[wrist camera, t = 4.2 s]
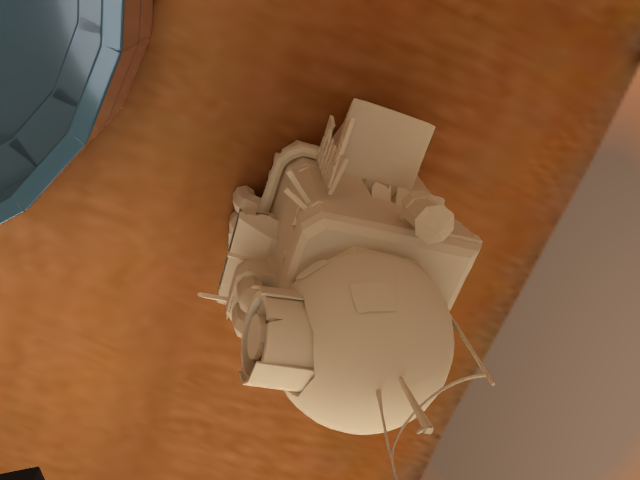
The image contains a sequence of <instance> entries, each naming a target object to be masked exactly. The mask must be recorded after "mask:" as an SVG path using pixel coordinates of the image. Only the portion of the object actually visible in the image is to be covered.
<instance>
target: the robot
mask: <svg viewBox="0 0 640 480" xmlns="http://www.w3.org/2000/svg"><path fill="white" fill-rule="evenodd" d="M334 127H335V121H334V116H333V115H330V117H329V120H328V123H327V127H326V130H325V134H324V136H323V138H322V141H321V144H320V146H317V145H313V144H310V143H306V142H303V141H299V140H296V141H294V142H293V143H291V144H289V145H288V146H286V147H284V148H283V149H282V151H281V153H275V155H274V158H273V166H272V169H271V170H269V174H268V181H267V184H266V187H265V190H264V193H263V196H262V197H261V198H260V197H257V196H255V192H254V190H253V189H252V188H250V187H248V186H247V185H245V186H240V187H237V188H236V189H235V191H234V193H233V194H232V197H233V204H234V208H235V211H234V212H233V213H232V214H231V215H230V216H229V219H230V222H229V235H228V245H230V246H229V249H228V253H227V257H226V261H225V264H224V268H223V272H222V276H221V280H220V283H219V287H218V295H214V294H208V293H201V292H198V294H197V295H198V296H199V297H203V298H208V299H213V300H217V302H216V303H221V304H226V306H225V307H226V314H227V317H226V320H227V318H228V317H229V318H230V319H231V321H232V323H233V326H234V329H235V332H236V334H237V336H238V337H240V338H241V339H242V340H241V365H242V371H239V376H240V379H241V382H242V385H248V386H255V387H263V388H270V389H278V390H284V392H285V393H286V395H287V396H288V398H289V399H290V400H291V401H292V402H293V403H294V404H295V406H296V407H297V408H298V409H299V410H301V411H302V412H303V413H304V414H306V415H307V416H308V417H310V418H311V419H313V420H314V421H315V422H317V423H319V424H321V425H323V426H325V427H328V428H330V429H333V430H337V431H341V432H345V433H349V434H359V435H369V434H379V433H383V432H384V434H385V440H386V444H387V448H388V452H389V456H390V461H391V465H392V469H393V474H394V479H395V480H398V479H397V474H396V469H395V465H394V459H393V453H394V449H395V445H396V442H397V440H398V438H399V436H400V434H401V432H402V431H403V429H404V428H405V426H406V424H407V423H408V422H410V421H412V420H413V419H415V418H416V417H417V419H418V421H419V423H420V425H421V427H422V428H421V429H418V430H416V433H417V435H418V434H420V433H422V432H424V433H425V434H432V432H433V430H434V427H433V426H432V424H431V423H430V421H429V420H428V418H427V417H426V415H425V414H424V412H423V411H425V410H426V408H427V407H428V406H429V405H430V404H431V403H432V401H433V400H434V399H435V398H436V397H437V395H438V394H439V393H441V392H442V391H444V390H446V389H447V388H449V387H451V386H453V385H455V384H458V383H460V382H462V381H465V380H469V379H473V378H479V377H486V378H487V379H488V381H489V382H490V384H491V385H492V386H495V382H494V381H493V379H492V378H491V376H490V375H489V373H488V371H487V370H486V368H485V367H484V365H483V364H482V362H481V360H480V359H479V357H478V356H477V354H476V353H475V351H474V350H473V348H472V346H471V345H470V343H469V342H468V340H467V339H466V337H465V336H464V334H463V332H462V331H461V329H460V328H459V326H458V325H457V323H456V321H455V320H454V318H453V317H452V315H451V314H450V309H451V307H452V305H453V303H454V301H455V299H456V297H457V295H458V293H459V291H460V289H461V287H462V285H463V283H464V281H465V279H466V277H467V275H468V273H469V271H470V270H471V268H472V265H473V263H474V261H475V259H476V257H477V255H478V253H479V251H480V249H481V246H482V242H483V241H482V240H481V239H480V237H479V236H478V235H475V234H473V233H472V232H471V231H469V230H468V229H467V228H466V227H465V226H463V225H464V224H462V223H460V222H458V221H457V220H456V219H454V213H452V212H451V211H450V210H449V209H447V208H446V207H445V206H444V202H445V198H444V199H443V198H442V197H438V196H434V195H432V194H431V193H430V191H429V190H428V189H427V187H426V186H425V185H424V183H423V182H422V181H421V179H420V178H419V177H418V175H417V174H418V171H419V169H420V166H421V163H422V160H423V158H424V155H425V153H426V150H427V148H428V145H429V143H430V140H431V137H432V135H433V132H434V130H435V126H434V125H432V124H430V123H427V122H425V121H422V120H419V119H416V118H413V117H411V116H408V115H405V114H402V113H400V112H397V111H394V110H392V109H390V108H389V109H388V108H385V107H382V106H379V105H376V104H373V103H370V102H368V101H364V100H360V99H356V98H354V99H353V101H352V103H351V105H350V107H349V110H348V112H347V114H346V117H345V120H344V122H343V124H342V125H341V126H340V128H339V129H338V130H337V132H336V133H335V135H334V136H333V137H332V131H333V129H334ZM331 137H332V139H331ZM453 325H454V327H455V328H456V330H457V332H458V333H459V335H460V336H461V338H462V340H463V341H464V343H465V344H466V346H467V348H468V349H469V351H470V352H471V354H472V356H473V357H474V359H475V360H476V362H477V364H478V365H479V367H480V368H481V370H482V371H483V373H482V374H474V375H470V376H466V377H463V378H460V379H458V380H456V381H453V382H451V383H450V384H448V385H446V386H444V384H445V382H446V379H447V376H448V374H449V371H450V367H451V364H452V360H453V353H454V345H455V344H454V332H453ZM443 386H444V387H443ZM401 426H402V428H401V430H400V431H399V433H398V435H397V437H396V440H395V442H394V445H393V449H392V453H391V449H390V445H389V441H388V436H387V431H391V430H393V429H396V428H398V427H401Z"/></svg>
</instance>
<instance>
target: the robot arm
mask: <svg viewBox="0 0 640 480" xmlns="http://www.w3.org/2000/svg"><path fill="white" fill-rule="evenodd" d="M0 480H45V479H44V477H43V475H42V472H41V470H40V468H39V467H34V468H29V469H24V470H19V471H14V472H9V473H3V474H0Z"/></svg>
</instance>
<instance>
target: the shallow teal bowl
mask: <svg viewBox="0 0 640 480" xmlns="http://www.w3.org/2000/svg"><path fill="white" fill-rule="evenodd" d="M152 11H153V0H0V224H2V223H4V222H6V221H8V220H10V219H12V218H14V217H16V216H17V215H19V214H21V213H23V212H25V211H26V210H28V209H29V208H30V207H31V205H32V204H33V203H34V202H35V201H36V200H37V199H38V198H39V197H40V196H41V195H42V194H43V193H44V192H45V191H46V190H47V189H48V188H49V187H50V186H51V185H52V184H53V182H54V181H55V180H56V179H57V178H58V177H59V176H60V175H61V174H62V173H63V172H64V171H65V170H66V169H67V168H68V167H69V166H70V165H71V164H72V163H73V162H74V161H75V159H76V158H77V157H78V156H79V155H80V154H81V153H82V152H83V151H84V149H85V148H86V147H87V146H88V145H89V144H90V143H91V142H92V141H93V140H94V138H95V137H96V136H97V135H98V134H99V133H100V132H101V131H102V130H103V128H104V127H105V126H106V125H107V124H108V123H109V122H110V121H111V120H112V118H113V117H114V116H115V115H116V114H117V113H118V112H119V111H120V109H121V108H122V107H123V104H124V102H125V99H126V97H127V94H128V92H129V89H130V87H131V84H132V82H133V79H134V77H135V74H136V72H137V69H138V67H139V65H140V62H141V60H142V57H143V55H144V52H145V50H146V47H147V45H148V42H149V40H150V35H151V28H152Z"/></svg>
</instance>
